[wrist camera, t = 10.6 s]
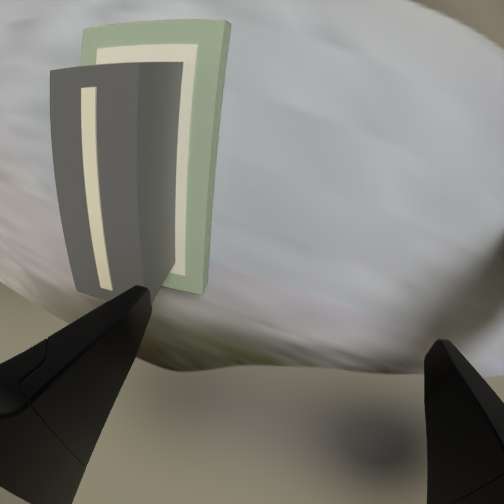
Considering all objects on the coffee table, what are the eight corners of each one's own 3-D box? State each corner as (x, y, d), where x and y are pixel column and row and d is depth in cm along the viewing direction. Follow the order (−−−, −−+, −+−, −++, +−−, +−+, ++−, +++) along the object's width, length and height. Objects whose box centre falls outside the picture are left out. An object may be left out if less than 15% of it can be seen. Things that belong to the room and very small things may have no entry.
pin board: (231, 23, 14) (209, 10, 11) (207, 282, 24) (190, 323, 21) (96, 29, 15) (52, 28, 11) (105, 259, 25) (77, 292, 21)
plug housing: (183, 61, 15) (138, 62, 10) (175, 262, 22) (146, 312, 17) (105, 63, 15) (48, 71, 11) (112, 249, 22) (76, 292, 18)
